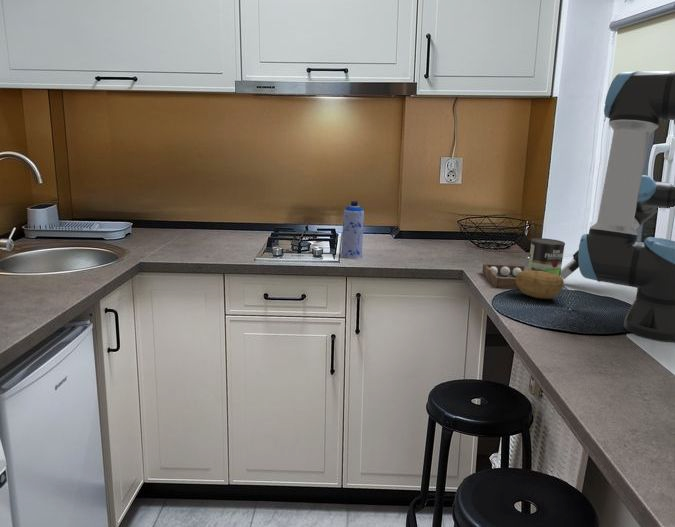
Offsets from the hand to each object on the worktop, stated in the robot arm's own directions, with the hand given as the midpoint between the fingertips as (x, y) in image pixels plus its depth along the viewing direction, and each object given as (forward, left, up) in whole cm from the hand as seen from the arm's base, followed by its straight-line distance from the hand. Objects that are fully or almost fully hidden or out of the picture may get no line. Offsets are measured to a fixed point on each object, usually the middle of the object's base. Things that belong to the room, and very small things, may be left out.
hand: (560, 275), depth 202 cm
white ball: (+8, +12, -3) cm, 14 cm away
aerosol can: (+26, +67, -3) cm, 72 cm away
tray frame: (+1, +16, -3) cm, 16 cm away
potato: (-18, +13, -3) cm, 22 cm away
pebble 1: (+8, +20, -3) cm, 22 cm away
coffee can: (-1, +6, -3) cm, 7 cm away
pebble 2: (+8, +16, -3) cm, 18 cm away
